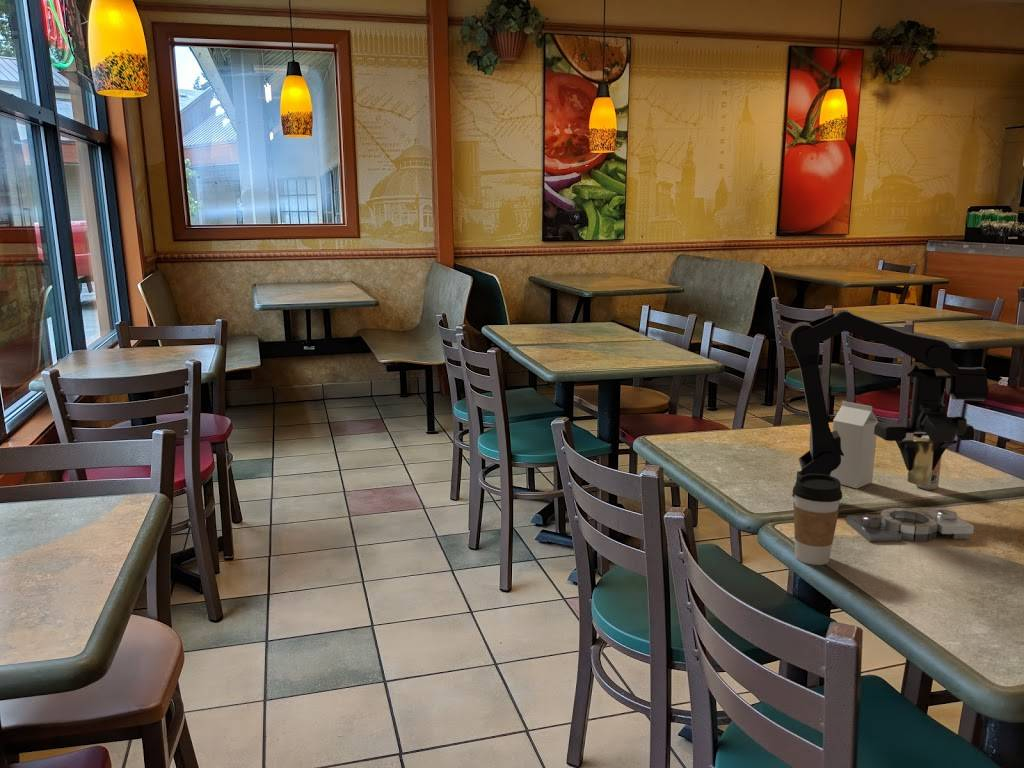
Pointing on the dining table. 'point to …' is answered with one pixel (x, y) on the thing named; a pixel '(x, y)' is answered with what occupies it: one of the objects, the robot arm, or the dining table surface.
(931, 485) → the beer can
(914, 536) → the lower link
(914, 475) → the pin
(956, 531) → the upper link
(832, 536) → the coffee cup
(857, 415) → the milk carton
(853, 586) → the dining table surface
